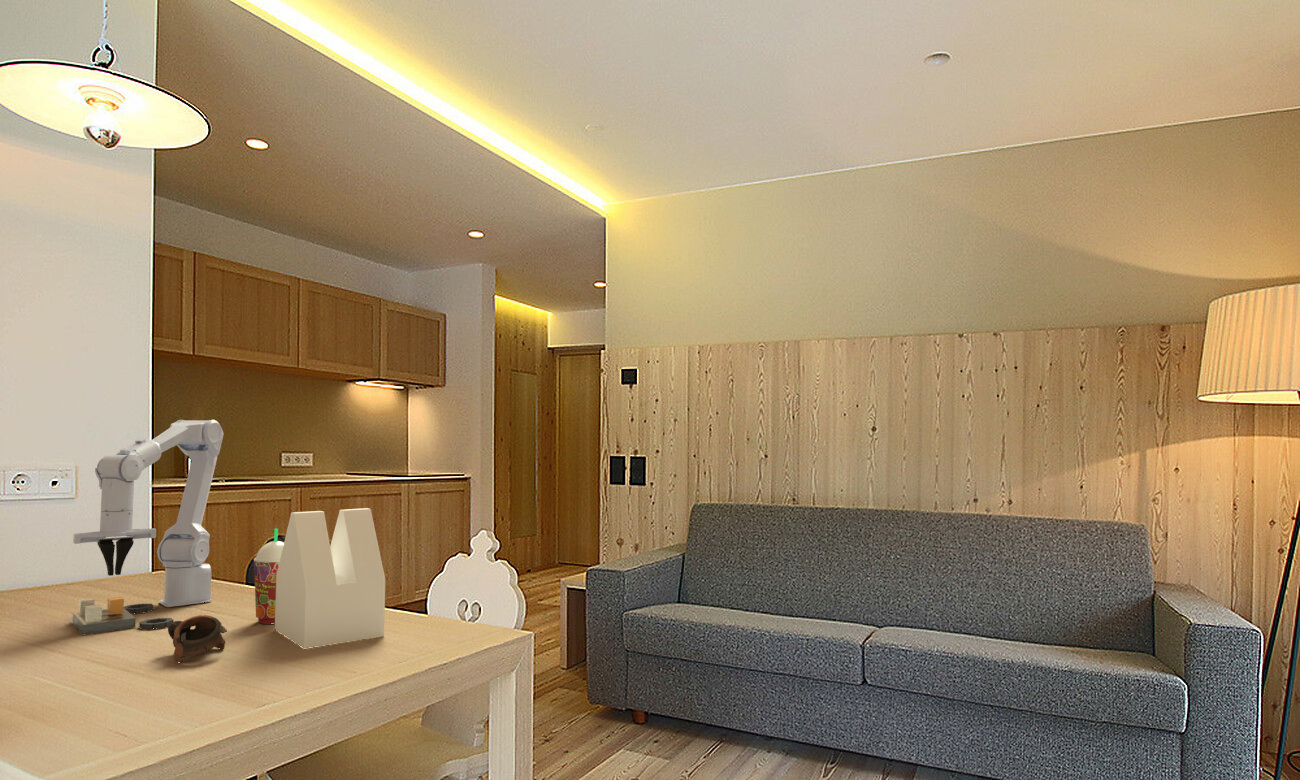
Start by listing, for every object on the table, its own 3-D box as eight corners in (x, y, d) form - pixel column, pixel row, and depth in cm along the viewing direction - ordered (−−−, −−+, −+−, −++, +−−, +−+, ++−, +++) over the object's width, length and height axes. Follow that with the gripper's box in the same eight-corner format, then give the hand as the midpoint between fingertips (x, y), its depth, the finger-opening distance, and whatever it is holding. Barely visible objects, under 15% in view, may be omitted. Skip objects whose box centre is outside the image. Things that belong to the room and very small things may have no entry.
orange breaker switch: (120, 610, 168) (121, 596, 169) (123, 613, 166) (123, 598, 166) (107, 612, 167) (107, 598, 167) (109, 614, 165) (110, 600, 165)
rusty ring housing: (241, 651, 147) (237, 619, 144) (201, 688, 139) (196, 654, 135) (188, 632, 150) (183, 599, 146) (146, 666, 142) (140, 632, 138)
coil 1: (149, 607, 182) (149, 602, 182) (155, 611, 178) (155, 606, 178) (120, 611, 178) (120, 606, 178) (125, 615, 174) (125, 610, 174)
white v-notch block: (384, 636, 157) (386, 512, 159) (304, 650, 147) (308, 516, 148) (349, 619, 172) (352, 505, 173) (274, 630, 162) (278, 509, 163)
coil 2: (168, 621, 168) (169, 616, 168) (175, 626, 164) (175, 621, 164) (137, 626, 164) (137, 620, 164) (143, 631, 160) (143, 625, 160)
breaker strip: (122, 616, 173) (123, 593, 173) (135, 627, 163) (136, 603, 163) (72, 622, 167) (73, 599, 167) (82, 635, 157) (83, 609, 157)
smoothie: (242, 623, 167) (245, 529, 168) (274, 615, 174) (277, 525, 176) (271, 627, 164) (274, 531, 165) (303, 619, 171) (305, 527, 172)
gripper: (78, 514, 160) (75, 581, 159) (160, 509, 169) (157, 573, 169) (73, 511, 165) (70, 576, 164) (153, 507, 175) (150, 568, 174)
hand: (114, 574), depth 167 cm, fingers closed
